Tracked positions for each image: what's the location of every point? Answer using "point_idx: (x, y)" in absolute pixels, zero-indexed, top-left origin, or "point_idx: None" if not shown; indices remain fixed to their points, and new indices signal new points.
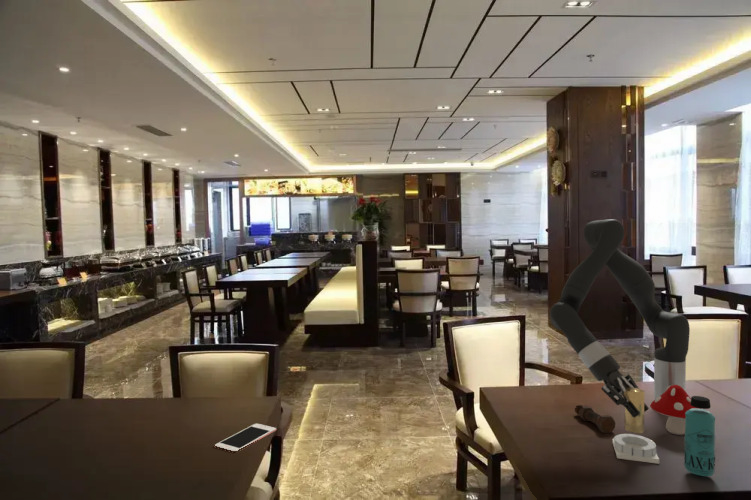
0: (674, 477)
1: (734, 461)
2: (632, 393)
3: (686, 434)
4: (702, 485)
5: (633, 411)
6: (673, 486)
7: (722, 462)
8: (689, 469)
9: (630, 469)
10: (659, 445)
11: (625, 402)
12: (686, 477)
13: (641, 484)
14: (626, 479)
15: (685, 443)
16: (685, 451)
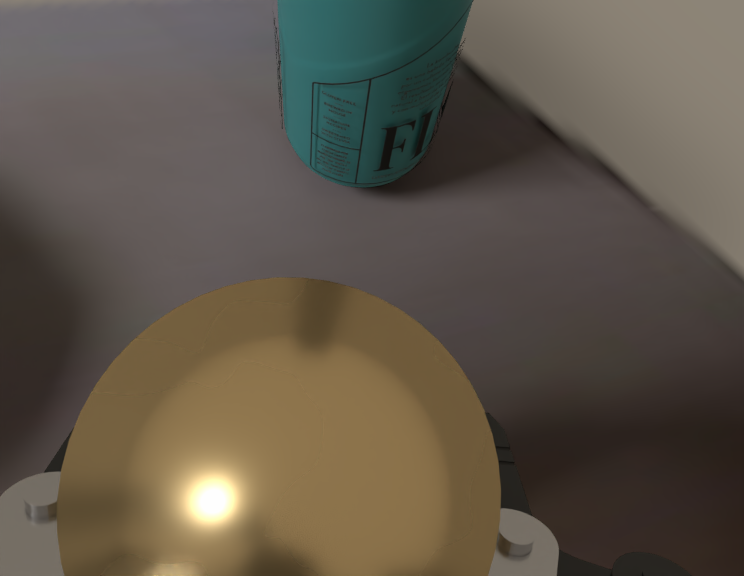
0: (472, 232)
1: (11, 41)
2: (495, 458)
3: (450, 14)
4: (453, 117)
5: (501, 445)
6: (580, 214)
7: (71, 83)
8: (426, 148)
9: (575, 449)
10: (26, 423)
11: (564, 562)
12: (422, 187)
13: (699, 340)
14: (717, 422)
15: (436, 73)
16: (417, 115)
